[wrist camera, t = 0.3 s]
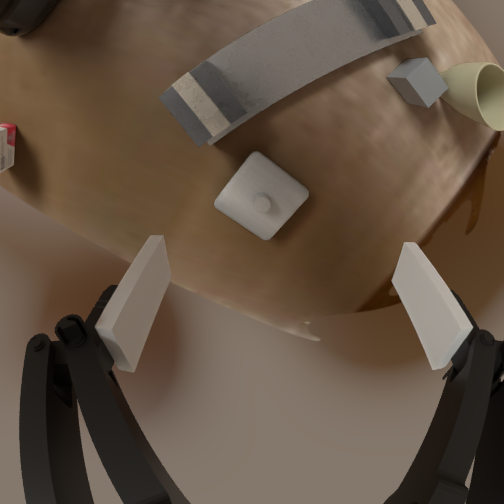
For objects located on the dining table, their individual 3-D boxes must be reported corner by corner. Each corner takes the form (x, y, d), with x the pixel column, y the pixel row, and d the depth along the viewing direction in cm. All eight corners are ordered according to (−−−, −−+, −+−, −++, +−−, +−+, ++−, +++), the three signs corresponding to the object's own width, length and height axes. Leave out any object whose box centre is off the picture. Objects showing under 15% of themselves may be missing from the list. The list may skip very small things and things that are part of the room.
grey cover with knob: (308, 188, 39) (314, 199, 34) (266, 235, 43) (267, 251, 39) (255, 146, 36) (254, 151, 32) (214, 198, 40) (208, 210, 36)
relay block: (386, 77, 29) (405, 77, 24) (405, 59, 27) (427, 57, 22) (407, 103, 31) (428, 108, 26) (425, 84, 28) (448, 87, 23)
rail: (169, 90, 31) (151, 92, 26) (381, -21, 19) (400, -33, 14) (212, 143, 36) (202, 154, 30) (418, 33, 24) (442, 29, 18)
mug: (464, 123, 30) (512, 143, 21) (420, 101, 30) (470, 114, 20) (473, 68, 24) (523, 75, 14) (429, 40, 24) (479, 37, 14)
